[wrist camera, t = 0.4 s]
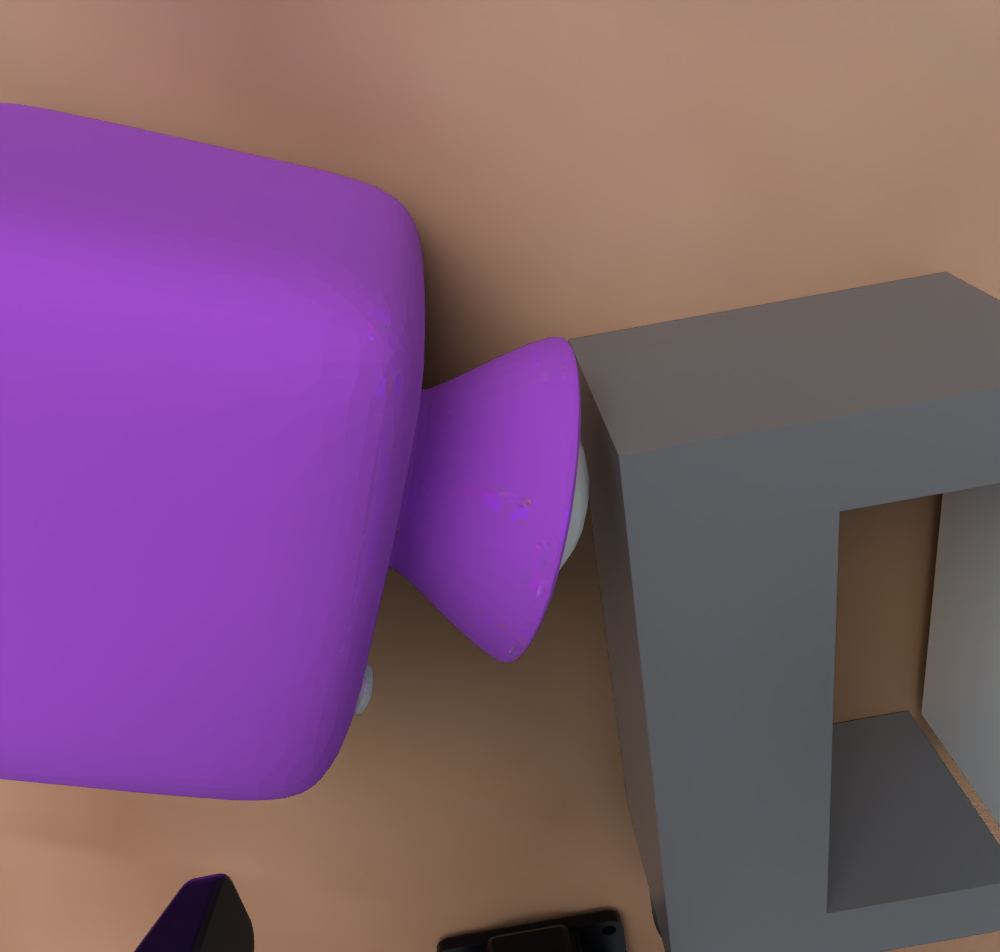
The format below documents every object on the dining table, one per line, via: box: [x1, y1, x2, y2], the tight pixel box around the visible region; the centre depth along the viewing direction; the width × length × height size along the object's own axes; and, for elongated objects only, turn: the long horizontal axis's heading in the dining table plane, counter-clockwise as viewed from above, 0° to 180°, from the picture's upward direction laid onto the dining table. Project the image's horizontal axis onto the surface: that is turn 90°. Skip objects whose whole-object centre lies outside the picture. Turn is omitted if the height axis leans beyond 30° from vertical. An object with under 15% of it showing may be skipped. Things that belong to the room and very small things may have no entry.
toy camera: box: [0, 103, 589, 800], centre depth 16 cm, size 11×14×10 cm
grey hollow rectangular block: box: [569, 272, 1000, 952], centre depth 23 cm, size 17×9×6 cm, turn 9°
